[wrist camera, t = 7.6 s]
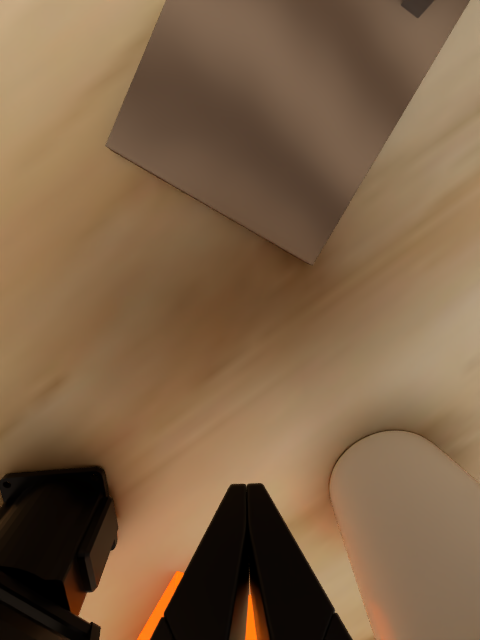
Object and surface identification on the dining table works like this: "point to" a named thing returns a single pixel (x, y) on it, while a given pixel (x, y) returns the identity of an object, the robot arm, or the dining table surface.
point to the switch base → (277, 104)
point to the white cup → (410, 536)
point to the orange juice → (165, 599)
